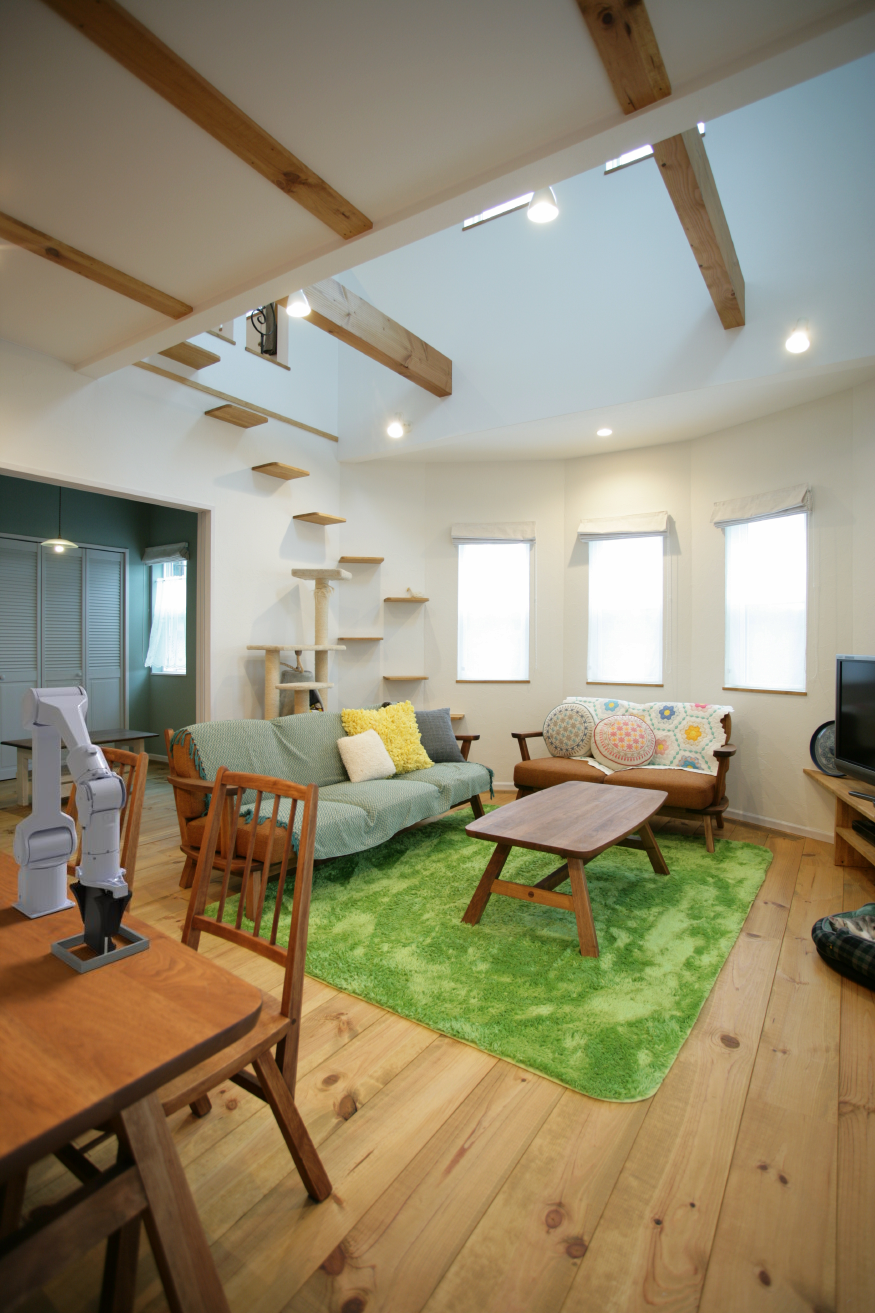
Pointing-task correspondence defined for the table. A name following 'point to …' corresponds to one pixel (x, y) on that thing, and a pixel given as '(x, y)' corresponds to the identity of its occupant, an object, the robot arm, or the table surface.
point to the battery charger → (95, 924)
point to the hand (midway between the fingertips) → (100, 928)
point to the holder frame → (80, 966)
